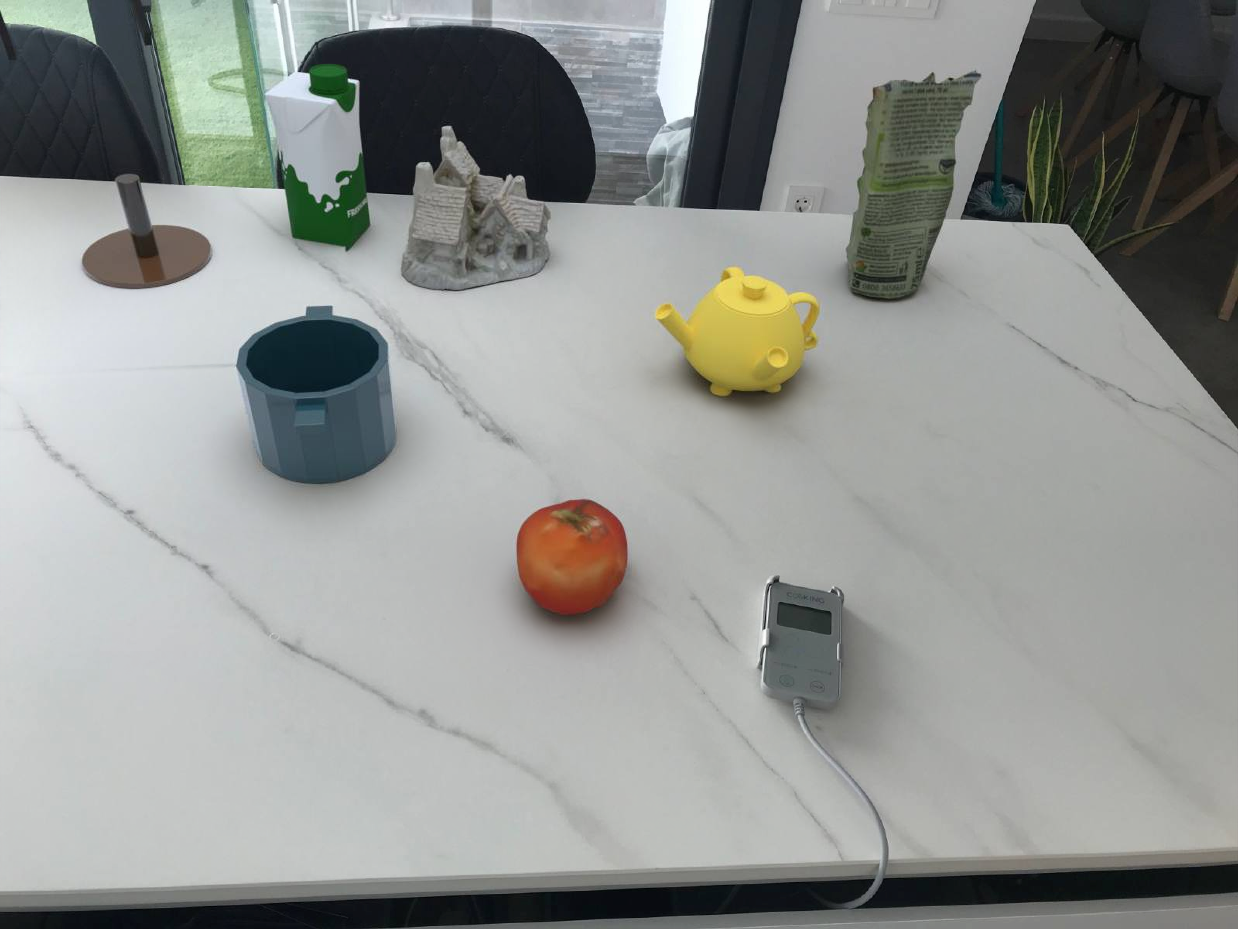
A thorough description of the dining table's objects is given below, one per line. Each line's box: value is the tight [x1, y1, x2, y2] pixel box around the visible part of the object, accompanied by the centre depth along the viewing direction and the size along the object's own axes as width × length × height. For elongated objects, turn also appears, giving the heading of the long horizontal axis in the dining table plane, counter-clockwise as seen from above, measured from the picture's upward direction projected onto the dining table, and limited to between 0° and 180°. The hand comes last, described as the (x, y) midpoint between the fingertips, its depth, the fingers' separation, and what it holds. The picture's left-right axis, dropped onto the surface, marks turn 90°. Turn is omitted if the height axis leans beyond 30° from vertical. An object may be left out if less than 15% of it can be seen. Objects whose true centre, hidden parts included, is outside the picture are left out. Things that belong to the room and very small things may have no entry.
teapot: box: [654, 266, 820, 397], centre depth 100 cm, size 14×14×11 cm
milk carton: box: [264, 63, 371, 251], centre depth 114 cm, size 9×9×20 cm
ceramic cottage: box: [400, 125, 552, 291], centre depth 113 cm, size 16×16×15 cm
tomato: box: [515, 498, 629, 616], centre depth 77 cm, size 9×9×8 cm
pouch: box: [845, 69, 983, 300], centre depth 113 cm, size 11×12×25 cm
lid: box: [81, 173, 213, 289], centre depth 109 cm, size 14×14×10 cm
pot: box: [235, 305, 397, 484], centre depth 88 cm, size 13×18×10 cm
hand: (81, 46), depth 105 cm, fingers open, 13 cm apart
